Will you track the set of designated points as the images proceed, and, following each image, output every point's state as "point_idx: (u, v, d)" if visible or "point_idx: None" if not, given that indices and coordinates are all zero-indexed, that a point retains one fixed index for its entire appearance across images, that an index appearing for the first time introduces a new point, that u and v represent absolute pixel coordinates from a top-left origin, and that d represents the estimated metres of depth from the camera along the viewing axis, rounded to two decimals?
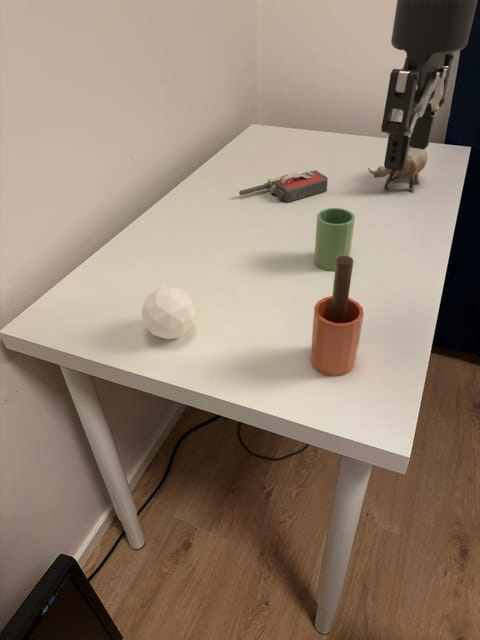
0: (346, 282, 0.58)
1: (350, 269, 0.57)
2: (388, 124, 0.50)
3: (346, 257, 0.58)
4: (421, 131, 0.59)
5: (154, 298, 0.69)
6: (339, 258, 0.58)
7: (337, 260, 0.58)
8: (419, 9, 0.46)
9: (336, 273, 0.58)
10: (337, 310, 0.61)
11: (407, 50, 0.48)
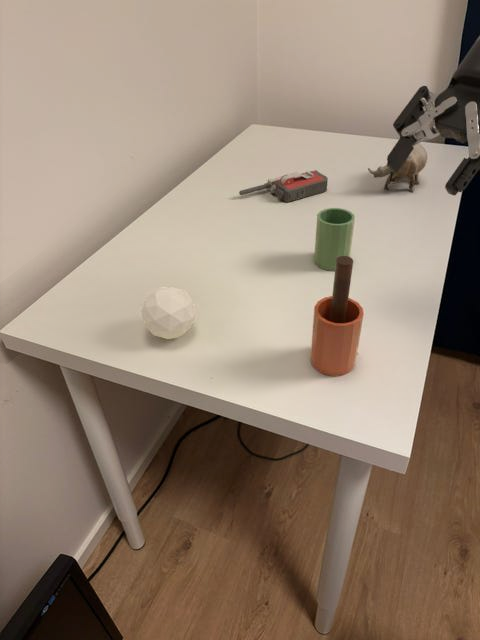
0: (346, 282, 0.58)
1: (350, 269, 0.57)
2: None
3: (346, 257, 0.58)
4: None
5: (154, 298, 0.69)
6: (339, 258, 0.58)
7: (337, 260, 0.58)
8: None
9: (336, 273, 0.58)
10: (337, 310, 0.61)
11: None
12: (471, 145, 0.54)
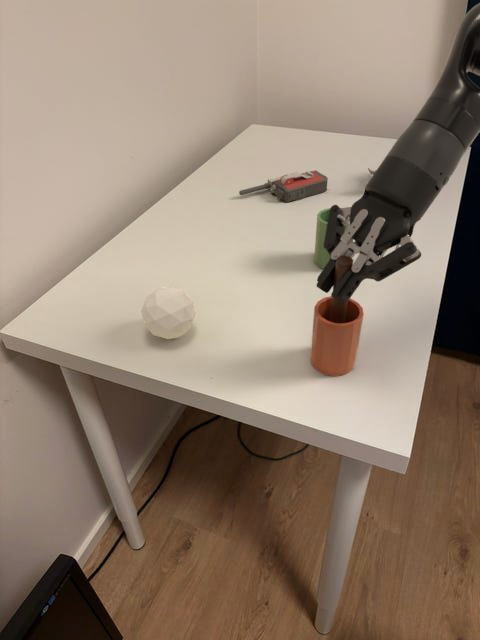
0: None
1: (350, 269, 0.57)
2: None
3: (346, 257, 0.58)
4: None
5: (154, 298, 0.69)
6: (339, 258, 0.58)
7: (336, 260, 0.58)
8: None
9: (336, 273, 0.58)
10: (337, 310, 0.61)
11: None
12: (359, 258, 0.57)
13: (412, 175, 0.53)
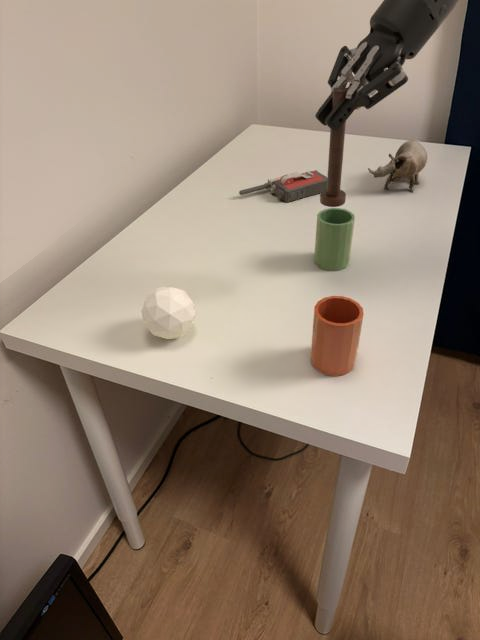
0: None
1: (344, 97, 0.63)
2: None
3: (343, 88, 0.64)
4: None
5: (154, 298, 0.69)
6: (336, 88, 0.64)
7: (333, 89, 0.64)
8: None
9: (332, 102, 0.64)
10: (333, 143, 0.67)
11: None
12: (353, 85, 0.62)
13: (407, 1, 0.58)
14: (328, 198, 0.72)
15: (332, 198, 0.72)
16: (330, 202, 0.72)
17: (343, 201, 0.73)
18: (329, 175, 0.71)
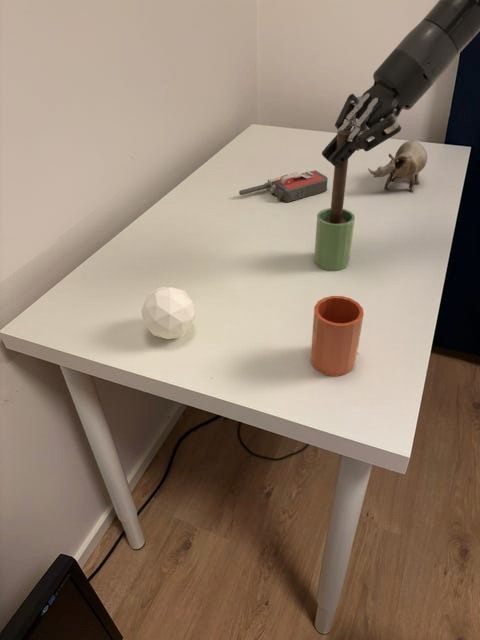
0: None
1: None
2: None
3: (347, 131, 0.73)
4: None
5: (154, 298, 0.69)
6: (341, 131, 0.73)
7: None
8: None
9: (337, 143, 0.74)
10: (336, 178, 0.77)
11: None
12: (354, 130, 0.72)
13: (403, 62, 0.67)
14: None
15: None
16: None
17: None
18: (332, 204, 0.80)
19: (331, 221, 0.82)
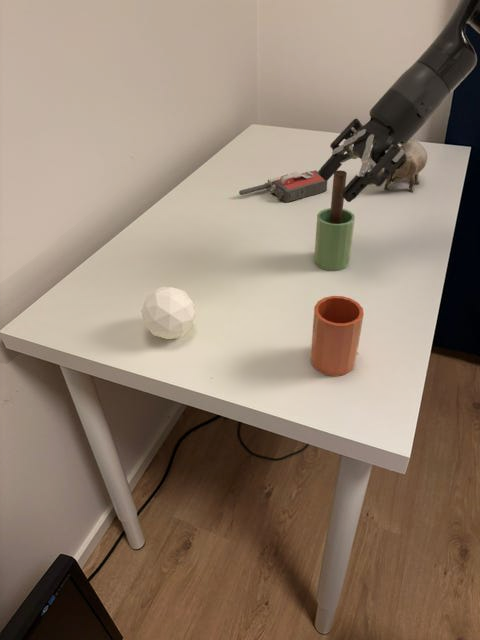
0: (339, 190, 0.78)
1: (342, 180, 0.77)
2: None
3: (342, 171, 0.77)
4: None
5: (154, 298, 0.69)
6: (337, 171, 0.78)
7: (334, 172, 0.77)
8: None
9: (333, 182, 0.78)
10: (333, 214, 0.81)
11: None
12: (363, 166, 0.73)
13: (398, 102, 0.70)
14: None
15: None
16: None
17: None
18: None
19: None
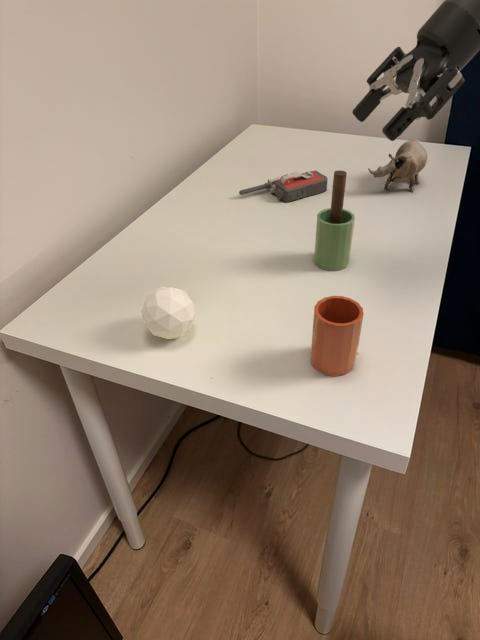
0: (339, 190, 0.78)
1: (342, 180, 0.77)
2: None
3: (342, 171, 0.77)
4: None
5: (154, 298, 0.69)
6: (337, 171, 0.78)
7: (334, 172, 0.77)
8: None
9: (333, 182, 0.78)
10: (333, 214, 0.81)
11: None
12: (410, 96, 0.61)
13: (455, 15, 0.58)
14: None
15: None
16: None
17: None
18: None
19: None
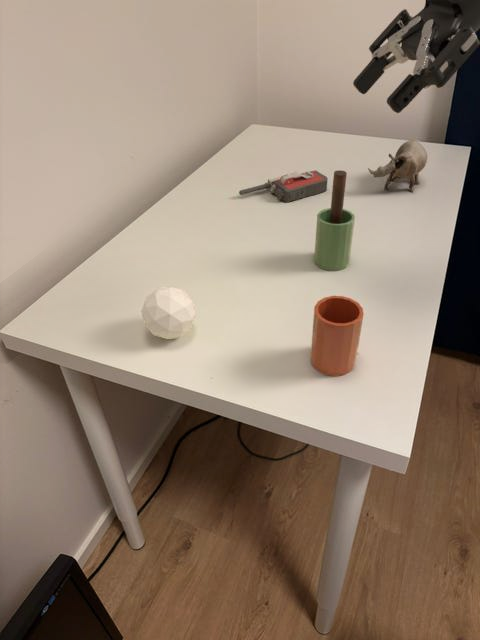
0: (339, 190, 0.78)
1: (342, 180, 0.77)
2: None
3: (342, 171, 0.77)
4: None
5: (154, 298, 0.69)
6: (337, 171, 0.78)
7: (334, 172, 0.77)
8: None
9: (333, 182, 0.78)
10: (333, 214, 0.81)
11: None
12: (418, 61, 0.55)
13: None
14: None
15: None
16: None
17: None
18: None
19: None
